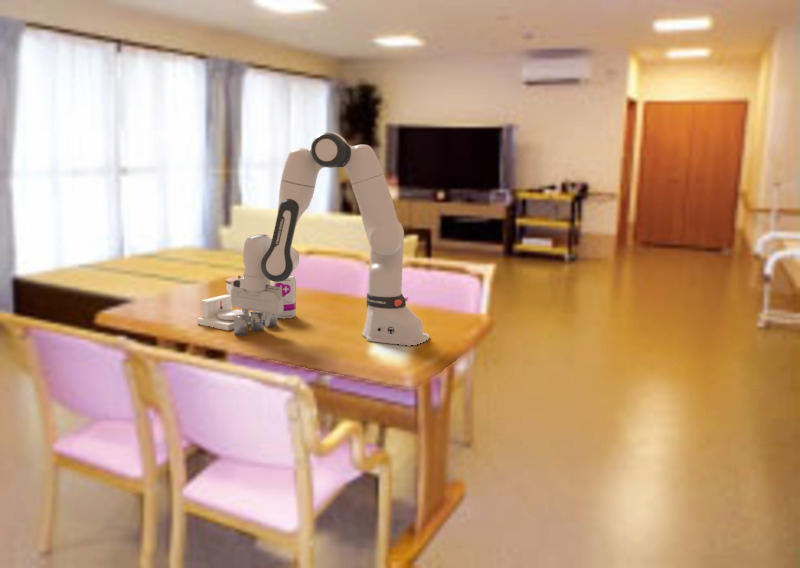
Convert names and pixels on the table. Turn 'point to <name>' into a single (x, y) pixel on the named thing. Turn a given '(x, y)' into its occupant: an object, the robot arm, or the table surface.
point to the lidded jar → (228, 283)
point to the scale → (218, 313)
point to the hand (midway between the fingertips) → (257, 323)
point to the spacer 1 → (240, 325)
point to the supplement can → (287, 297)
